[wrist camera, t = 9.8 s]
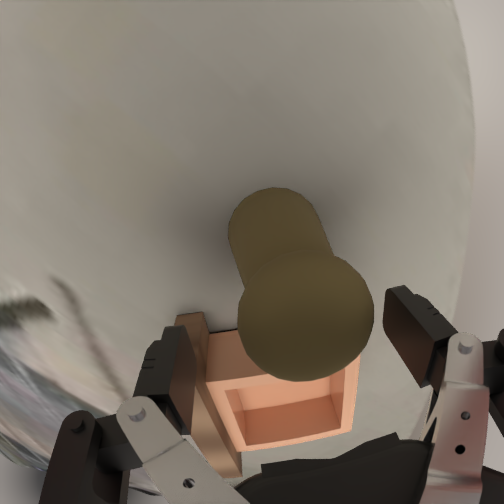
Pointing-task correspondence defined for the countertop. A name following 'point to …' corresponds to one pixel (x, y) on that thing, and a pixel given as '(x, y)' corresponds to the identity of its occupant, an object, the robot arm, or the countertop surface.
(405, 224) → the countertop surface
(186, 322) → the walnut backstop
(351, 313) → the cork
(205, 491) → the robot arm
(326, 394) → the terracotta holder
